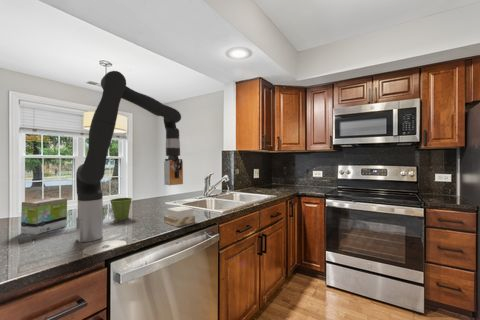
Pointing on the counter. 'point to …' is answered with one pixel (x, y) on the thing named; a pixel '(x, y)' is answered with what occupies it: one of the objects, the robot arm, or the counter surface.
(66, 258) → the counter surface
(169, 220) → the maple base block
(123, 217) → the plant pot
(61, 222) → the tea box
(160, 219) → the counter surface
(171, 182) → the small box
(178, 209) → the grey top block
